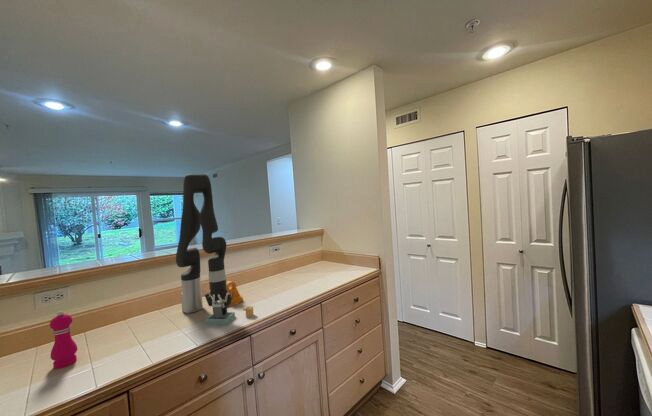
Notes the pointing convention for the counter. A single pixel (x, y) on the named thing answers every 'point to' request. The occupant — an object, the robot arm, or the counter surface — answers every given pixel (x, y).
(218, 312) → the block
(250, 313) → the clip right
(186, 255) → the robot arm
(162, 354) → the counter surface
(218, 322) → the tray
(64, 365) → the pepper mill
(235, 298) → the bracket
